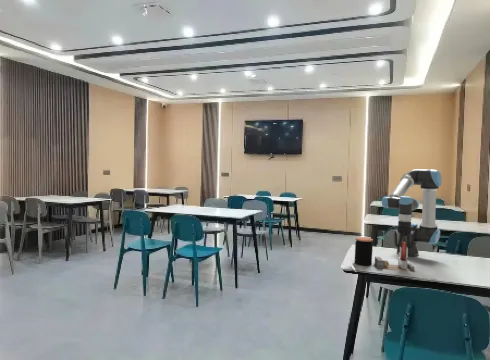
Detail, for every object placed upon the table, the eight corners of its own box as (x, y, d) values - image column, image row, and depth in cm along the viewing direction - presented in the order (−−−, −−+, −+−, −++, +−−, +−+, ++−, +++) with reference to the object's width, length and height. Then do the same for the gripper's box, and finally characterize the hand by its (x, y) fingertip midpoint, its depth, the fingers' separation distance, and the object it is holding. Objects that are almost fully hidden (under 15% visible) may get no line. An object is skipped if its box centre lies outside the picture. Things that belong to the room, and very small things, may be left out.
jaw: (397, 265, 234) (398, 240, 234) (402, 265, 234) (404, 240, 233) (401, 269, 226) (403, 243, 225) (407, 269, 225) (408, 243, 224)
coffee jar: (373, 265, 238) (374, 238, 237) (368, 269, 229) (370, 241, 229) (357, 262, 244) (358, 236, 243) (352, 266, 235) (353, 238, 235)
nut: (381, 265, 233) (381, 259, 233) (387, 266, 233) (388, 259, 233) (382, 267, 229) (383, 261, 229) (389, 267, 229) (389, 261, 229)
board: (373, 265, 238) (373, 255, 238) (408, 268, 236) (408, 258, 235) (377, 271, 226) (378, 260, 225) (414, 273, 223) (415, 263, 222)
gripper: (393, 221, 226) (391, 258, 227) (420, 222, 224) (418, 260, 225) (389, 219, 233) (387, 255, 234) (416, 220, 231) (414, 257, 232)
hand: (402, 257), depth 230 cm, fingers closed on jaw, 3 cm apart
